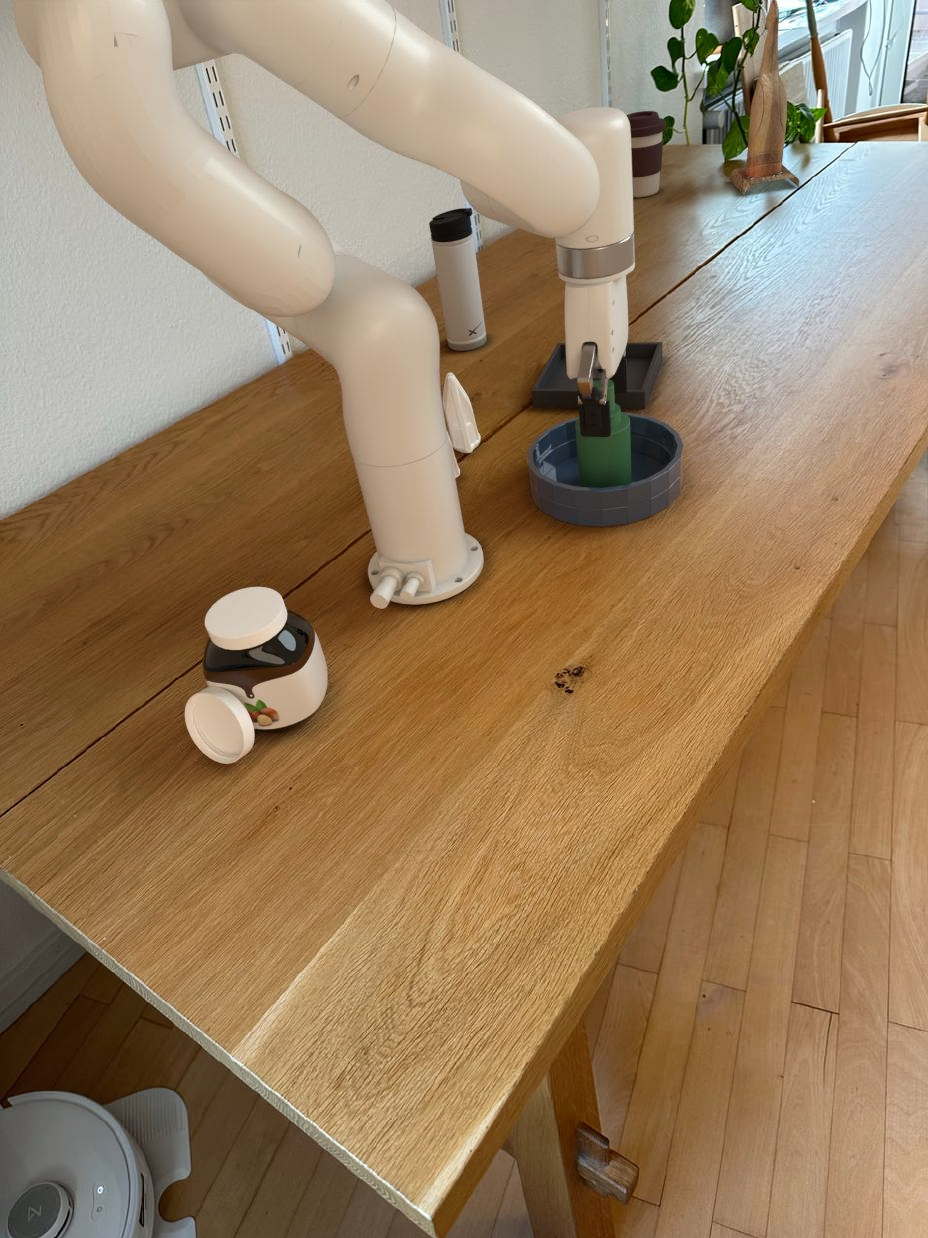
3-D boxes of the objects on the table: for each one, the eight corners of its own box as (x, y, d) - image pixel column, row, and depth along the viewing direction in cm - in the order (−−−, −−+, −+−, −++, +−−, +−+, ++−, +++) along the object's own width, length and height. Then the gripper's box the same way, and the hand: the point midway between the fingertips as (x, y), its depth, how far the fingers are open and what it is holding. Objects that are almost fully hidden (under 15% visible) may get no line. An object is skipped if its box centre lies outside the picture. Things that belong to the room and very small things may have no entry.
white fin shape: (460, 437, 116) (447, 358, 109) (489, 440, 114) (478, 360, 107) (421, 485, 108) (404, 404, 101) (451, 489, 106) (436, 406, 99)
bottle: (626, 499, 98) (623, 397, 90) (574, 496, 100) (567, 396, 92) (635, 471, 103) (633, 371, 95) (585, 469, 105) (579, 371, 97)
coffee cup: (612, 192, 191) (610, 115, 181) (655, 182, 192) (655, 105, 182) (627, 203, 183) (625, 123, 174) (672, 193, 184) (672, 113, 174)
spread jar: (340, 673, 84) (309, 578, 76) (321, 765, 75) (283, 667, 67) (220, 683, 85) (178, 590, 78) (188, 773, 76) (138, 679, 69)
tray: (645, 411, 114) (644, 391, 112) (533, 409, 119) (531, 390, 117) (662, 360, 125) (662, 341, 123) (559, 360, 130) (557, 342, 128)
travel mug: (485, 350, 136) (467, 216, 124) (444, 352, 138) (422, 220, 125) (492, 333, 141) (475, 202, 128) (452, 336, 142) (432, 206, 130)
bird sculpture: (781, 173, 184) (796, -12, 163) (801, 187, 175) (819, -7, 154) (728, 182, 184) (736, -1, 164) (745, 197, 175) (756, 5, 155)
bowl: (670, 534, 93) (670, 494, 90) (514, 524, 98) (509, 486, 95) (691, 451, 105) (692, 413, 102) (551, 446, 111) (547, 410, 107)
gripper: (577, 226, 92) (588, 376, 103) (536, 291, 80) (553, 453, 91) (648, 222, 90) (651, 376, 101) (617, 288, 78) (625, 455, 89)
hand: (605, 412), depth 96 cm, fingers open, 9 cm apart
